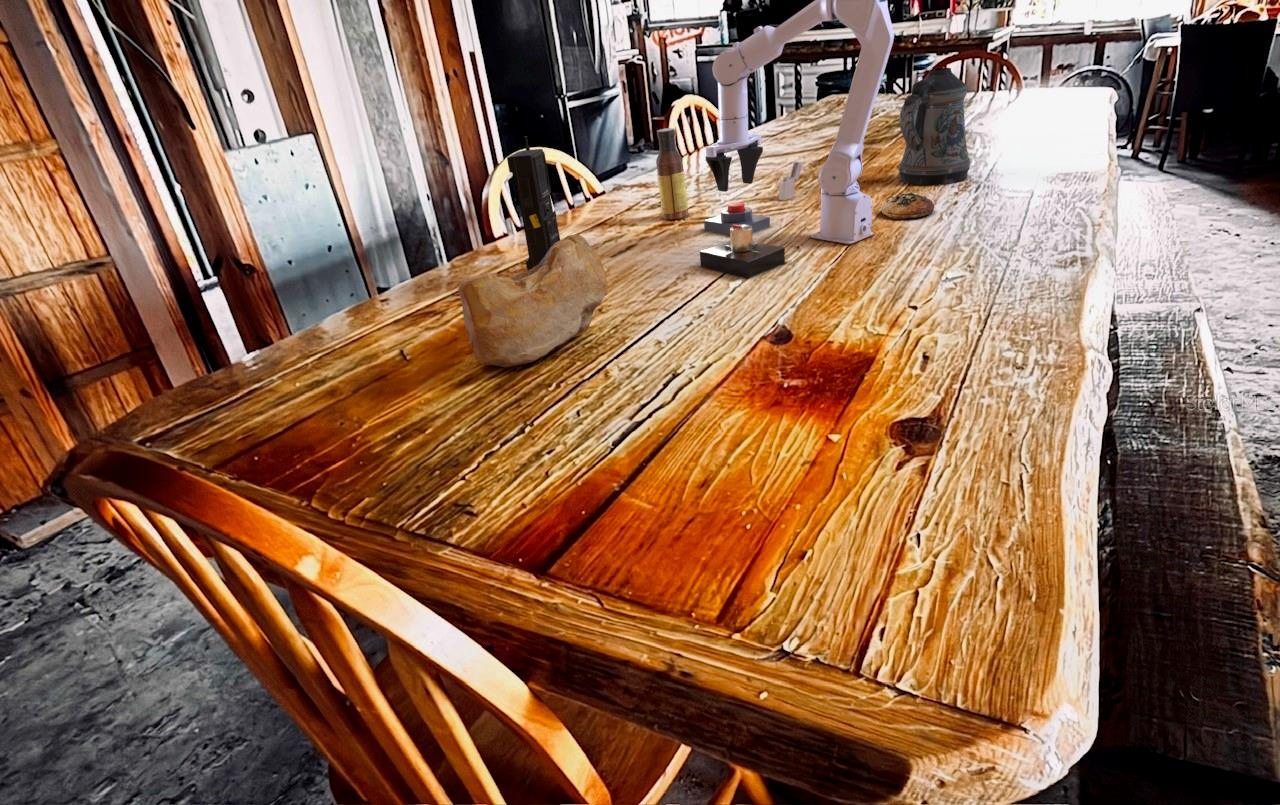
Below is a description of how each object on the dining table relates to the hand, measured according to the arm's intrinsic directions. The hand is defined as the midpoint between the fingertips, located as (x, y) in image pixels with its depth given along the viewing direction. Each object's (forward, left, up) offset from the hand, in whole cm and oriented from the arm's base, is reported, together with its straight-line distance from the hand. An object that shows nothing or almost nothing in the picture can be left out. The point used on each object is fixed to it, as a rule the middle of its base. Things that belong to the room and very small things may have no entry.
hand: (735, 187), depth 147 cm
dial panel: (-16, +16, -10) cm, 25 cm away
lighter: (+10, -30, -10) cm, 33 cm away
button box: (+2, -2, -10) cm, 10 cm away
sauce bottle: (+22, -2, -10) cm, 24 cm away
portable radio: (+14, +40, -10) cm, 44 cm away
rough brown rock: (-14, +61, -10) cm, 64 cm away
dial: (-16, +16, -6) cm, 24 cm away
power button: (+2, -2, -6) cm, 6 cm away
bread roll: (-22, -29, -10) cm, 38 cm away
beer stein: (-10, -60, -10) cm, 61 cm away
